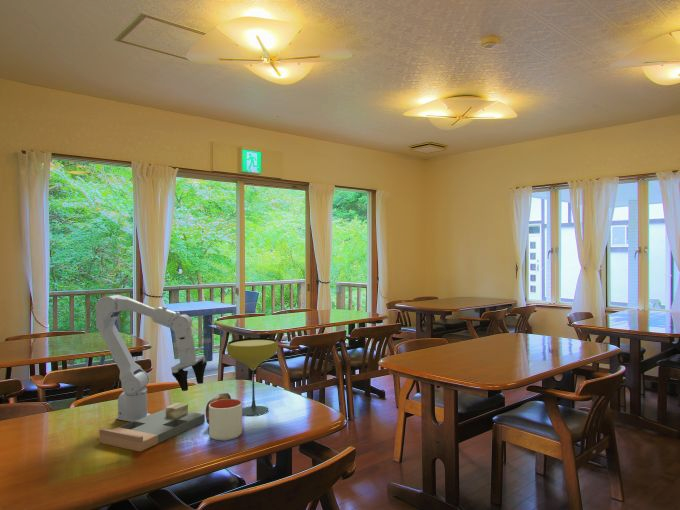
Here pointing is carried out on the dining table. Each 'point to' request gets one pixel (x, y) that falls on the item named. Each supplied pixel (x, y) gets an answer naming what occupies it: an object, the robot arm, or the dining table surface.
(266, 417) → the dining table surface
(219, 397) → the tin
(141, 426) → the board
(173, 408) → the beech block
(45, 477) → the dining table surface
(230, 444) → the dining table surface
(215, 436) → the cup
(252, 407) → the cocktail glass
